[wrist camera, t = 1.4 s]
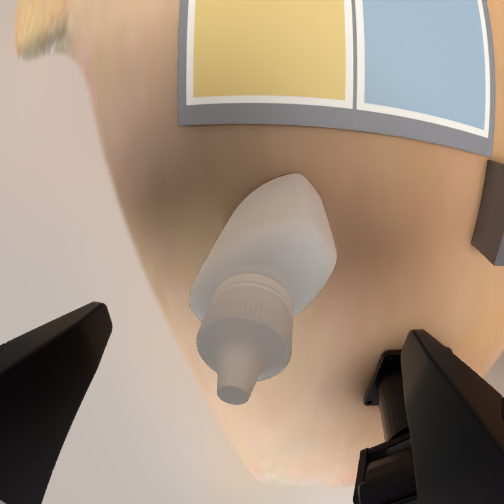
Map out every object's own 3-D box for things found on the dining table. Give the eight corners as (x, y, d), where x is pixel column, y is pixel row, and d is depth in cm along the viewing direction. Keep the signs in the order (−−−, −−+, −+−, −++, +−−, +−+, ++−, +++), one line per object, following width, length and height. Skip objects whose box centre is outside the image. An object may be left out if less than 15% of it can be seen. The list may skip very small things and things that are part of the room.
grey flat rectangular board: (486, 155, 13) (492, 157, 12) (182, 125, 15) (177, 126, 14) (478, -14, 8) (483, -17, 7) (188, -52, 10) (184, -57, 9)
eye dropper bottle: (327, 242, 17) (359, 433, 6) (232, 256, 18) (162, 434, 7) (316, 168, 15) (367, 300, 5) (214, 186, 16) (86, 322, 6)
